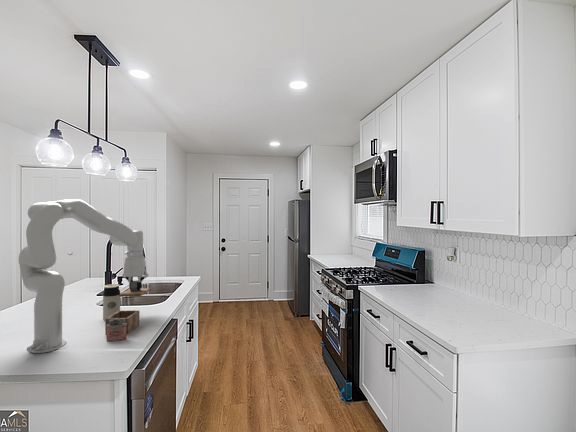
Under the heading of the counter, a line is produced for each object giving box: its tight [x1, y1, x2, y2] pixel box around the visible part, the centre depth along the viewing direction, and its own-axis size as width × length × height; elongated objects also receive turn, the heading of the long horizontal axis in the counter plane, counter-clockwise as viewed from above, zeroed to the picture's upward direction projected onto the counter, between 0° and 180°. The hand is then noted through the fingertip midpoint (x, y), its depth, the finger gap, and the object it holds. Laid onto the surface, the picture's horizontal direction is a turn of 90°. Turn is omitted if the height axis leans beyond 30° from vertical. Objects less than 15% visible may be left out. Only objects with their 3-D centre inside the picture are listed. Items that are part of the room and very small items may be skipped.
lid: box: [119, 279, 152, 298], centre depth 177 cm, size 14×11×6 cm
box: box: [104, 310, 140, 336], centre depth 161 cm, size 13×10×8 cm
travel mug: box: [102, 283, 121, 321], centre depth 178 cm, size 8×8×18 cm
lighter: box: [105, 318, 128, 343], centre depth 148 cm, size 8×3×10 cm, turn 105°
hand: (135, 289), depth 177 cm, fingers closed on lid, 3 cm apart
